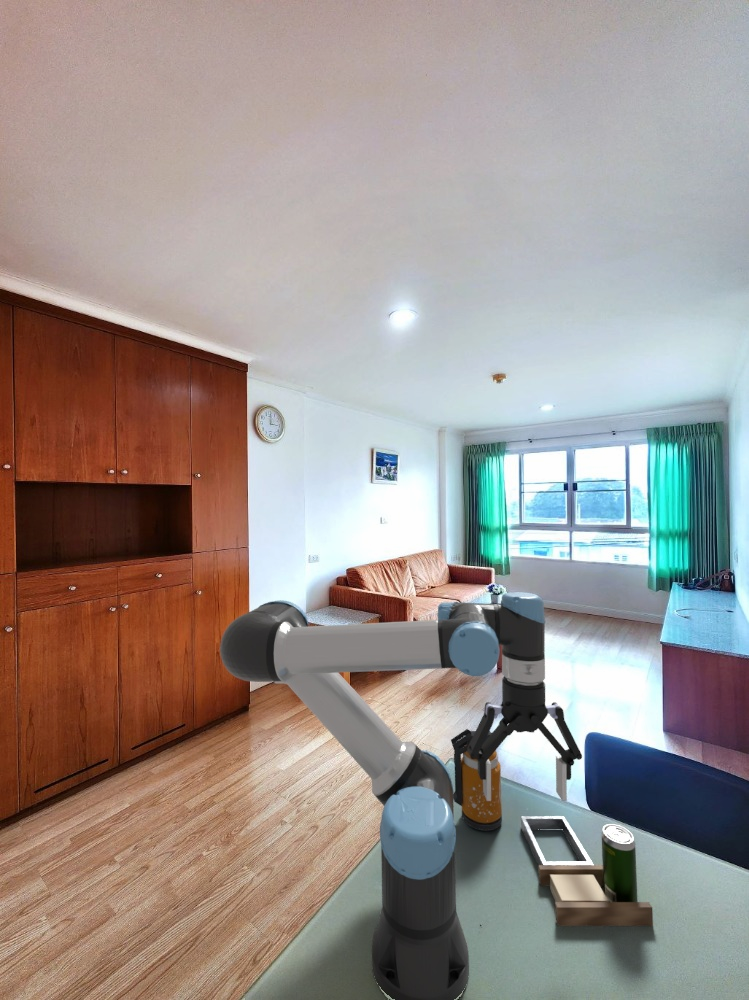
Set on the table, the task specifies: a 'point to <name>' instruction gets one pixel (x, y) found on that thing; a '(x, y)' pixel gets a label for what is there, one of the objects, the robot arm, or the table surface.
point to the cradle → (552, 823)
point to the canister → (476, 786)
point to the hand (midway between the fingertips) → (524, 796)
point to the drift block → (576, 888)
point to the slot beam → (594, 910)
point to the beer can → (619, 864)
